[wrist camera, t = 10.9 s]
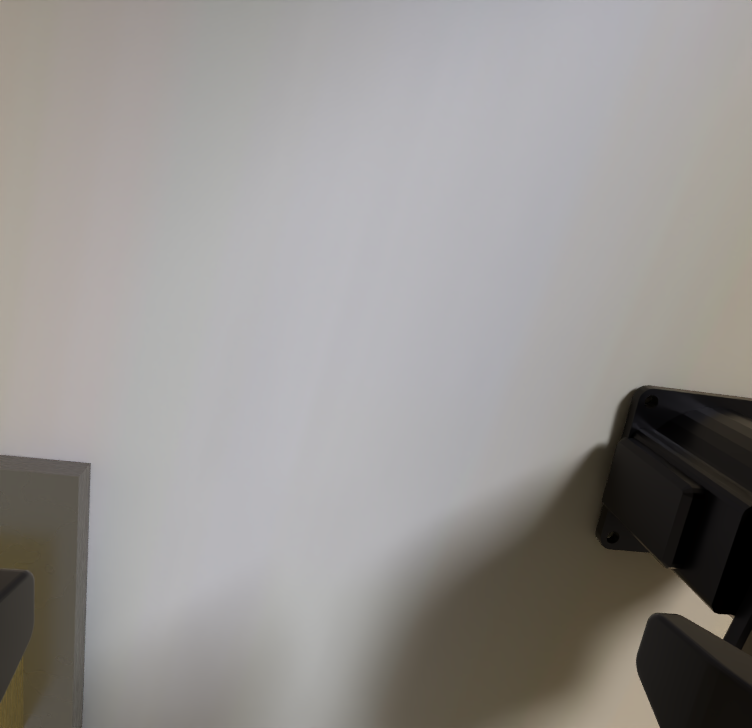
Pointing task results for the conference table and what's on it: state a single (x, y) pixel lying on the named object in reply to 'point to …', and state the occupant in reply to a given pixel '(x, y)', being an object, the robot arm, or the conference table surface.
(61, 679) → the keeper plate
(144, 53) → the conference table surface
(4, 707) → the yellow rectangular frame
